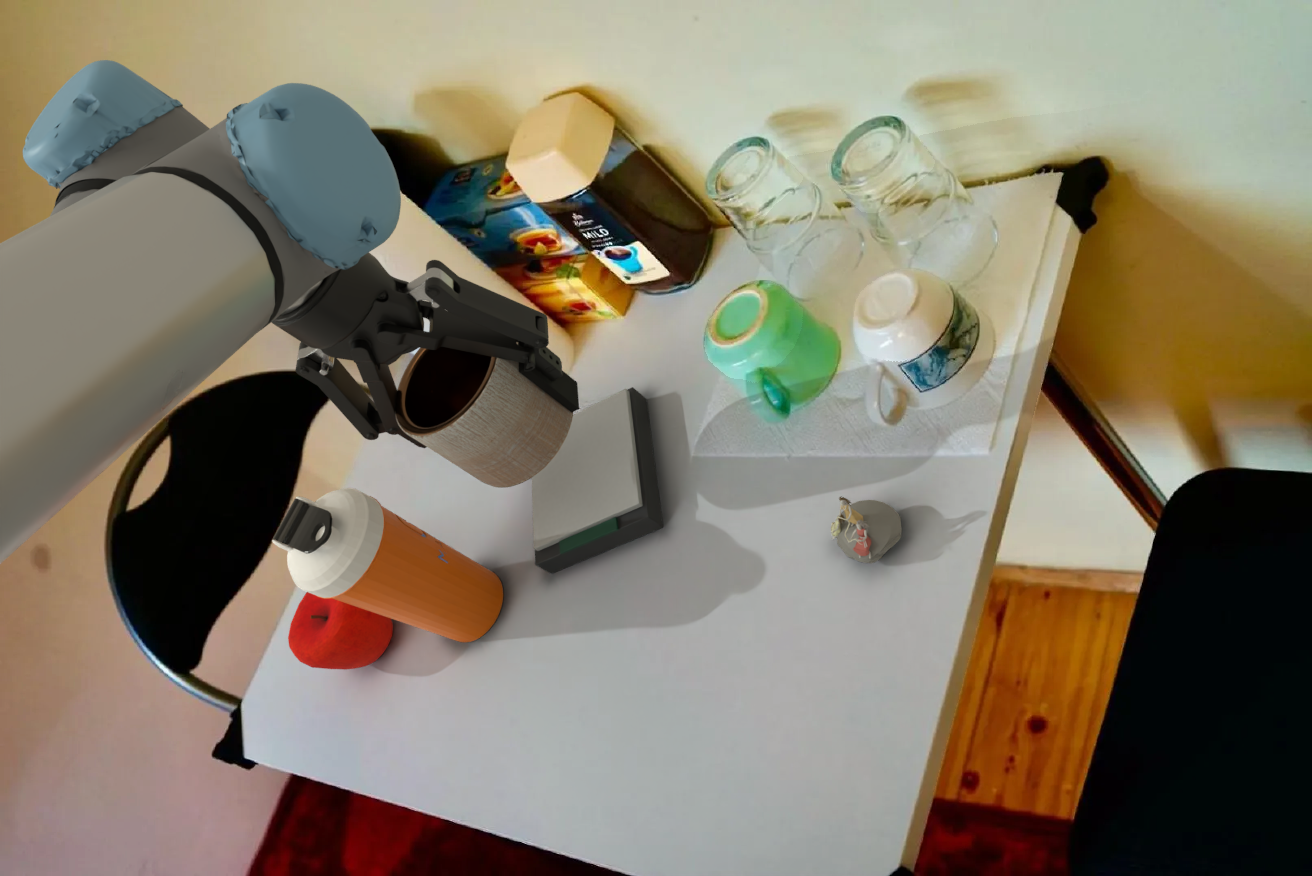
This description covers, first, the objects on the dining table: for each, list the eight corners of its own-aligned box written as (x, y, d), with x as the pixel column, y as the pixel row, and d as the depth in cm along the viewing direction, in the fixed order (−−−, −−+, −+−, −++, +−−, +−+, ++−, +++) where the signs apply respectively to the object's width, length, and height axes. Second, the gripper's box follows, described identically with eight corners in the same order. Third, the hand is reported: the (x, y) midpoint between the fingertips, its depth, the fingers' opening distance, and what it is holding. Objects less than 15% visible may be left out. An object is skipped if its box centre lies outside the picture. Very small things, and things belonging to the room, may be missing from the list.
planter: (521, 512, 70) (434, 460, 63) (456, 460, 78) (373, 408, 71) (601, 400, 71) (524, 336, 64) (529, 359, 79) (453, 298, 72)
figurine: (909, 507, 64) (879, 472, 60) (910, 565, 62) (880, 533, 58) (840, 516, 67) (806, 484, 63) (839, 572, 65) (804, 542, 61)
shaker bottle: (492, 660, 80) (309, 585, 65) (427, 645, 85) (245, 574, 71) (524, 565, 83) (357, 474, 68) (460, 557, 88) (292, 471, 74)
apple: (379, 582, 93) (319, 555, 88) (422, 615, 87) (360, 589, 82) (332, 659, 92) (267, 637, 86) (372, 699, 86) (306, 678, 80)
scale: (663, 528, 76) (644, 514, 74) (551, 575, 80) (530, 563, 78) (646, 398, 84) (629, 383, 82) (545, 448, 89) (526, 434, 86)
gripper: (435, 143, 56) (630, 331, 72) (195, 309, 65) (416, 443, 80) (430, 223, 51) (640, 404, 67) (174, 390, 60) (412, 515, 76)
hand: (518, 426), depth 74 cm, fingers closed on planter, 11 cm apart
